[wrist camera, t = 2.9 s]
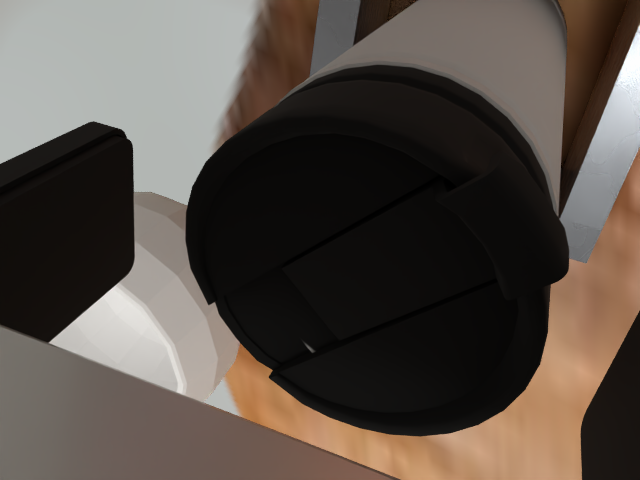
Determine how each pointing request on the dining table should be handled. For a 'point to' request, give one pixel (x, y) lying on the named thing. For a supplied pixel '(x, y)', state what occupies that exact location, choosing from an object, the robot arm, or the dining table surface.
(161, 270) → the cup
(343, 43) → the socket block
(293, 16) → the dining table surface
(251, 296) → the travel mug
